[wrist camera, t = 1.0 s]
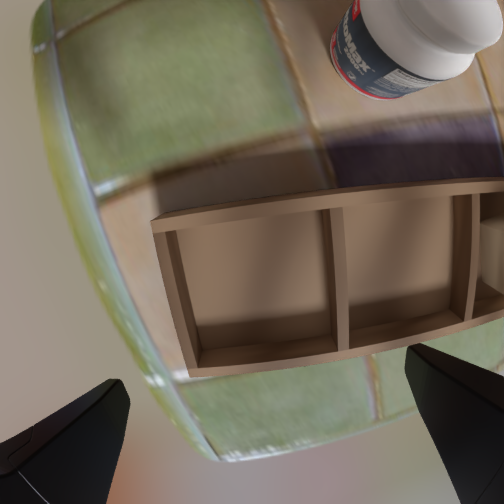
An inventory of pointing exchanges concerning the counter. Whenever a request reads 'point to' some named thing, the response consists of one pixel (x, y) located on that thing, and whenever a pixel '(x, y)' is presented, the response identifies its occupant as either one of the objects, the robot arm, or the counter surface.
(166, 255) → the bay tray
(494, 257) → the tan hollow cube
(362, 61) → the pill bottle
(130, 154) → the counter surface
